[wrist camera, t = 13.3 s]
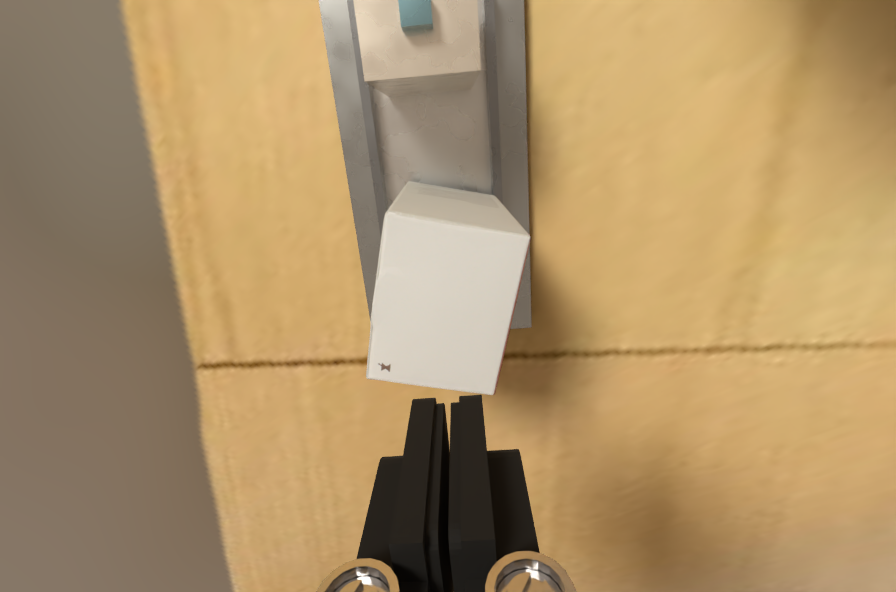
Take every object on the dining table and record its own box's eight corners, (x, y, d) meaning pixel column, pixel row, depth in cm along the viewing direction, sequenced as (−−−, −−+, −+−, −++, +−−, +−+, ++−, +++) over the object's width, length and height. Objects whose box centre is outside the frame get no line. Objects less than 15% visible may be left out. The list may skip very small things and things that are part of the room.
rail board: (520, -16, 28) (565, -108, 18) (528, 321, 37) (562, 399, 26) (323, 5, 29) (249, -73, 18) (375, 333, 37) (346, 415, 26)
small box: (476, 301, 33) (495, 400, 21) (393, 288, 33) (361, 382, 20) (498, 193, 30) (534, 234, 18) (407, 178, 30) (380, 209, 18)
